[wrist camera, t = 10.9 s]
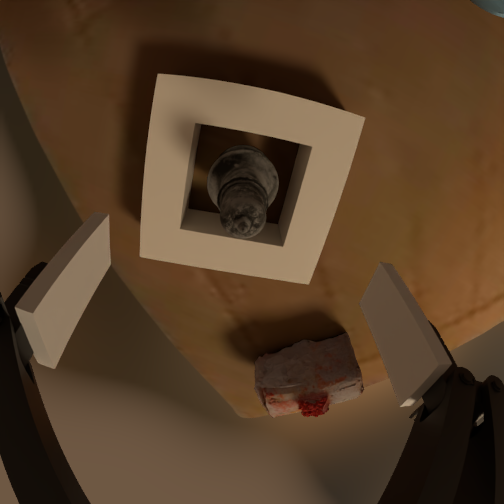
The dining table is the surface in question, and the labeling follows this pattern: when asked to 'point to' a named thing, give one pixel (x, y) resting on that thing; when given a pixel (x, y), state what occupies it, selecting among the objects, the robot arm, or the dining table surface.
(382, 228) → the dining table surface
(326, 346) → the food item
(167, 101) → the square frame
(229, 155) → the dark chess piece
